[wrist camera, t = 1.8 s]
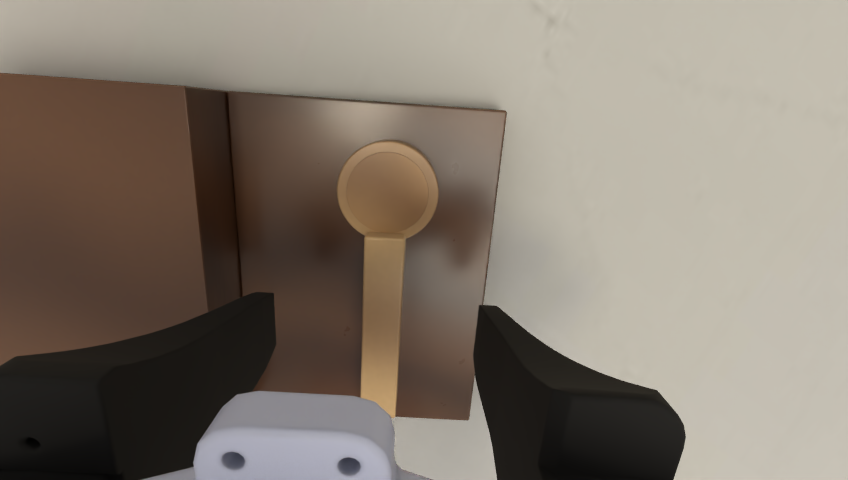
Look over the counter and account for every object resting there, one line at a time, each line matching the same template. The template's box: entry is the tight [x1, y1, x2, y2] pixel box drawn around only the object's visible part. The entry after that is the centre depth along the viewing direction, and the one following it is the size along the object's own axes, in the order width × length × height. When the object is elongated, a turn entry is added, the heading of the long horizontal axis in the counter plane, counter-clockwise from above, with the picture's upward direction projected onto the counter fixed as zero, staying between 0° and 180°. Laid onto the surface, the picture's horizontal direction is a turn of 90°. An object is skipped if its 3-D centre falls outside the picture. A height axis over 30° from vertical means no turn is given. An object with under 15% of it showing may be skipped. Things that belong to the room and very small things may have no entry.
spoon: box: [337, 139, 439, 418], centre depth 17 cm, size 12×4×2 cm, turn 176°
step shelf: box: [0, 73, 507, 420], centre depth 17 cm, size 15×20×4 cm
